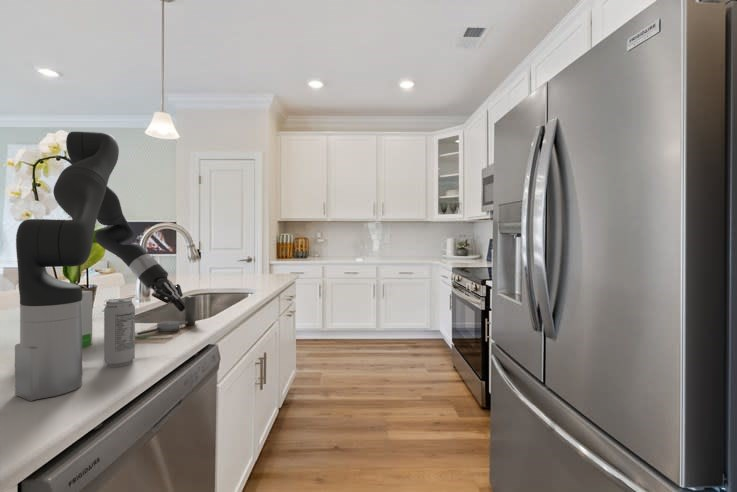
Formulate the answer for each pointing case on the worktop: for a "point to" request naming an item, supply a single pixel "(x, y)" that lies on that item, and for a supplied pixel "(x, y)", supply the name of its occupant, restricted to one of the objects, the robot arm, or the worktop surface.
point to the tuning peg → (174, 325)
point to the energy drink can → (119, 332)
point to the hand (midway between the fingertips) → (184, 309)
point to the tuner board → (161, 335)
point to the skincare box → (86, 318)
